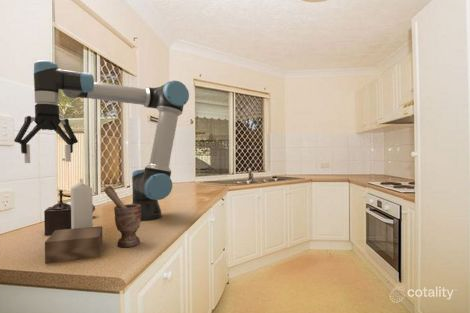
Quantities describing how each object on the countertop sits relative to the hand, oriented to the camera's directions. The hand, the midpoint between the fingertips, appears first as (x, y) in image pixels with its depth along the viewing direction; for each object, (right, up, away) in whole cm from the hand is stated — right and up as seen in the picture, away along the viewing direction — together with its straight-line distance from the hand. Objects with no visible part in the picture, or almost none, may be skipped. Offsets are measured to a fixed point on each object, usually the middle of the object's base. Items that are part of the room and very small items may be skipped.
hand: (48, 162), depth 108 cm
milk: (+14, -28, -3) cm, 32 cm away
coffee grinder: (+1, -28, +11) cm, 30 cm away
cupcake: (-4, -28, +34) cm, 44 cm away
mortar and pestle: (+31, -28, -9) cm, 43 cm away
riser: (+19, -28, -16) cm, 38 cm away
